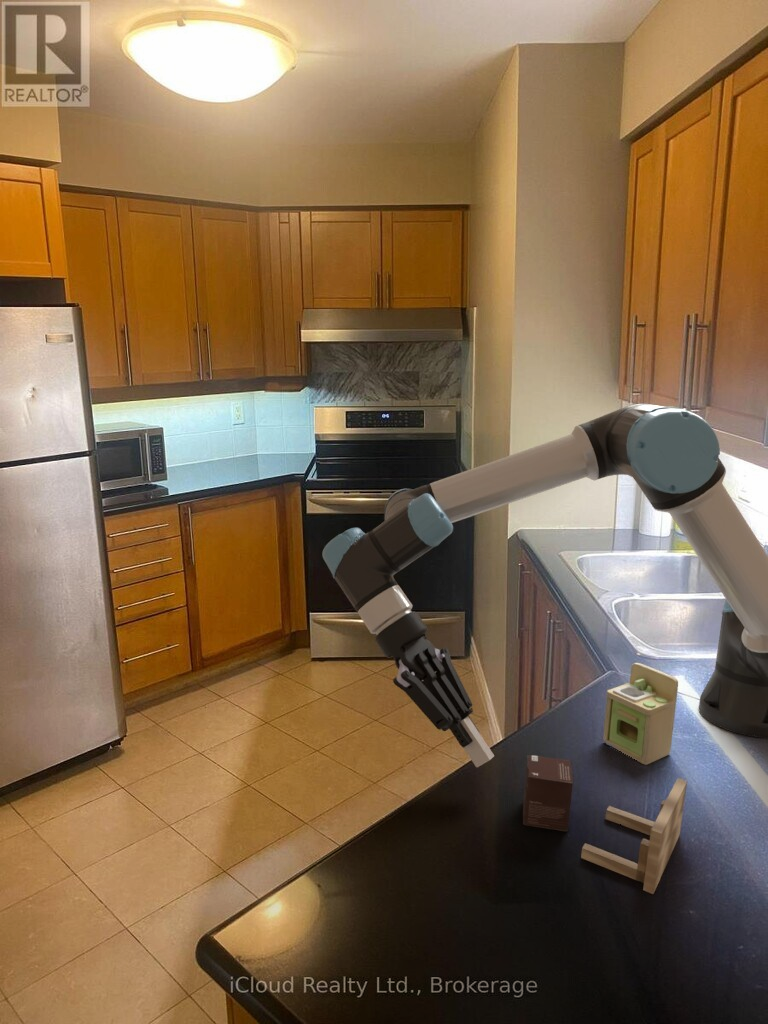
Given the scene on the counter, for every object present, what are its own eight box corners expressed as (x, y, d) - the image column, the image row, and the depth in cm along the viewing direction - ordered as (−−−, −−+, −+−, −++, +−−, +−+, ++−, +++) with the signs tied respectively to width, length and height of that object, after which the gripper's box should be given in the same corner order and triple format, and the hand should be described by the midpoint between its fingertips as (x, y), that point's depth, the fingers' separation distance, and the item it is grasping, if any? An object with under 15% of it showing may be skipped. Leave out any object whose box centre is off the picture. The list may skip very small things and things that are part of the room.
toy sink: (598, 743, 123) (607, 669, 121) (626, 732, 127) (635, 660, 125) (643, 767, 116) (653, 689, 114) (670, 754, 121) (680, 679, 118)
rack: (610, 810, 104) (617, 758, 103) (679, 835, 100) (687, 780, 98) (577, 863, 93) (584, 805, 91) (653, 894, 88) (661, 833, 86)
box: (568, 833, 99) (573, 783, 97) (522, 826, 100) (526, 776, 99) (566, 807, 105) (571, 759, 103) (522, 800, 106) (527, 753, 104)
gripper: (400, 624, 119) (486, 754, 114) (353, 647, 108) (445, 792, 103) (431, 599, 115) (522, 733, 110) (385, 621, 104) (484, 770, 99)
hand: (485, 761), depth 106 cm, fingers closed
